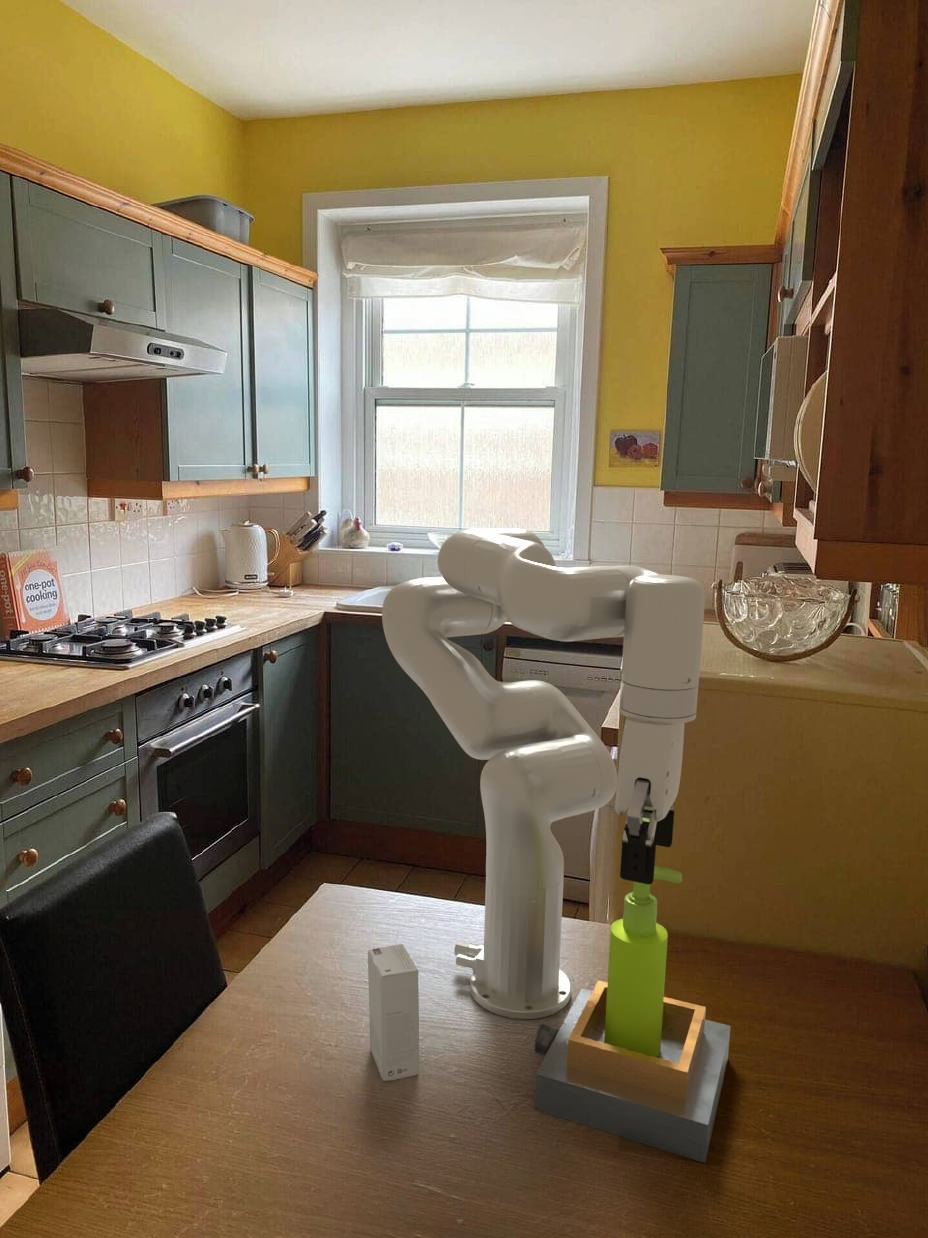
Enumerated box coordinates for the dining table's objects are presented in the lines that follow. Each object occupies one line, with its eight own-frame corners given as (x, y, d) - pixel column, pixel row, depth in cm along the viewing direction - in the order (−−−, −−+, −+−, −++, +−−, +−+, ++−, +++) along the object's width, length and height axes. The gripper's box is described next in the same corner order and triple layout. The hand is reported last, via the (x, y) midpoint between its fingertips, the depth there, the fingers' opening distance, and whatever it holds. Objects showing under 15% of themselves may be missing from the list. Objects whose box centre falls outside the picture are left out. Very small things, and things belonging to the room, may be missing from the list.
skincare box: (420, 1075, 95) (423, 970, 93) (380, 1084, 94) (381, 977, 92) (404, 1041, 101) (406, 941, 99) (366, 1049, 99) (367, 948, 98)
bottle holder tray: (511, 1102, 91) (514, 1040, 90) (560, 1014, 107) (563, 960, 106) (705, 1163, 84) (710, 1096, 83) (727, 1058, 99) (732, 1001, 98)
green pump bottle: (670, 1069, 91) (683, 884, 88) (602, 1058, 93) (612, 877, 90) (669, 1034, 97) (681, 860, 94) (605, 1025, 98) (615, 853, 95)
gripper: (639, 678, 98) (629, 825, 101) (599, 714, 82) (588, 888, 85) (709, 686, 95) (697, 838, 98) (681, 726, 79) (668, 905, 82)
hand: (647, 861), depth 91 cm, fingers open, 9 cm apart
